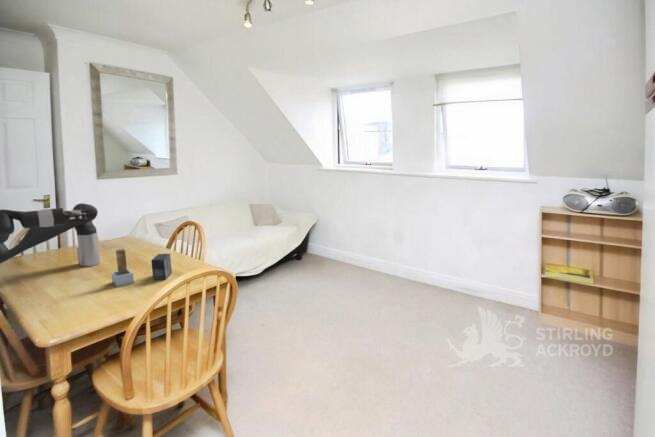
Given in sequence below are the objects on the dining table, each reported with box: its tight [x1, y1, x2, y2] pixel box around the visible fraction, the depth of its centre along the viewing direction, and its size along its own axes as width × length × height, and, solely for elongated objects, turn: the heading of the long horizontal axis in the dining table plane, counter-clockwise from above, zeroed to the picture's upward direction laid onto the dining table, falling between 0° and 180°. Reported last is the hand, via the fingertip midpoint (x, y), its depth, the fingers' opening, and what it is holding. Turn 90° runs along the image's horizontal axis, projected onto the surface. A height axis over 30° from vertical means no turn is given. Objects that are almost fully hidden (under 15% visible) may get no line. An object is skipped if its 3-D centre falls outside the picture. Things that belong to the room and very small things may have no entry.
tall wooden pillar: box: [115, 248, 128, 275], centre depth 190 cm, size 3×3×15 cm
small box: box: [150, 253, 173, 281], centre depth 199 cm, size 11×6×10 cm, turn 5°
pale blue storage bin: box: [111, 268, 135, 288], centre depth 191 cm, size 8×8×5 cm
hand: (93, 213), depth 183 cm, fingers open, 8 cm apart
